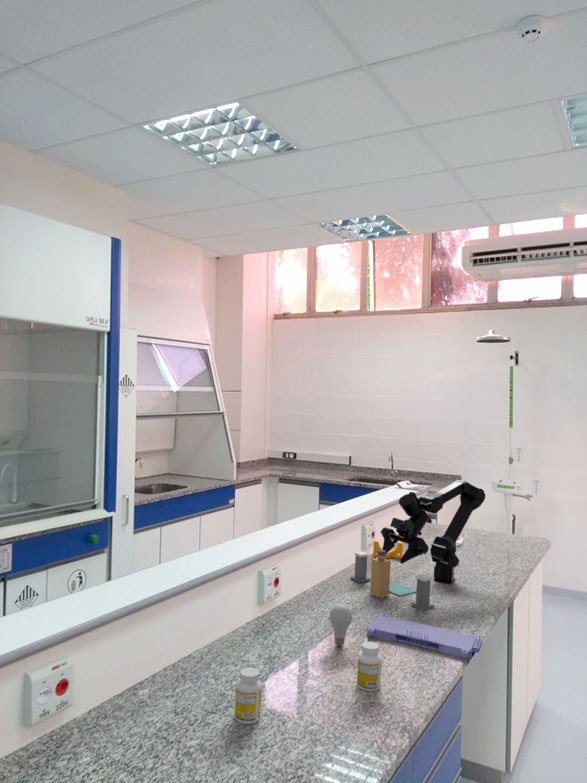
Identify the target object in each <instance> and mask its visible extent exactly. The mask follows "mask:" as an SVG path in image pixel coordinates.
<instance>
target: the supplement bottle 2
mask: <svg viewBox="0 0 587 783" xmlns="http://www.w3.org/2000/svg"><path fill="white" fill-rule="evenodd" d="M379 652H380V645H379V644H378V643H377V642H374V641H364V642H362V644H361V651H360V652H359V654H358V658H357V678H356V685H357V687H358V688H359V689H361V691H365V692H377V691H378V690H379V689H380V688H381V680H382V679H381V678H382V677H381V676H382V674H381V673H382V656H381V653H379Z"/></svg>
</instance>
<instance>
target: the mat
mask: <svg viewBox="0 0 587 783" xmlns="http://www.w3.org/2000/svg"><path fill="white" fill-rule="evenodd" d="M389 591H390V592H392V593H391V594H393V593H394V594H393V595H395V594H396V596H397V595H398V596H397V597H403V596H402V595H404V596H407V595H406V594H408V595H411V594H416V592H417V589H414V588H412V587H408V586H406V585H404V584H402V583H395V584H390V585H389ZM390 592H389V593H390Z"/></svg>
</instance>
